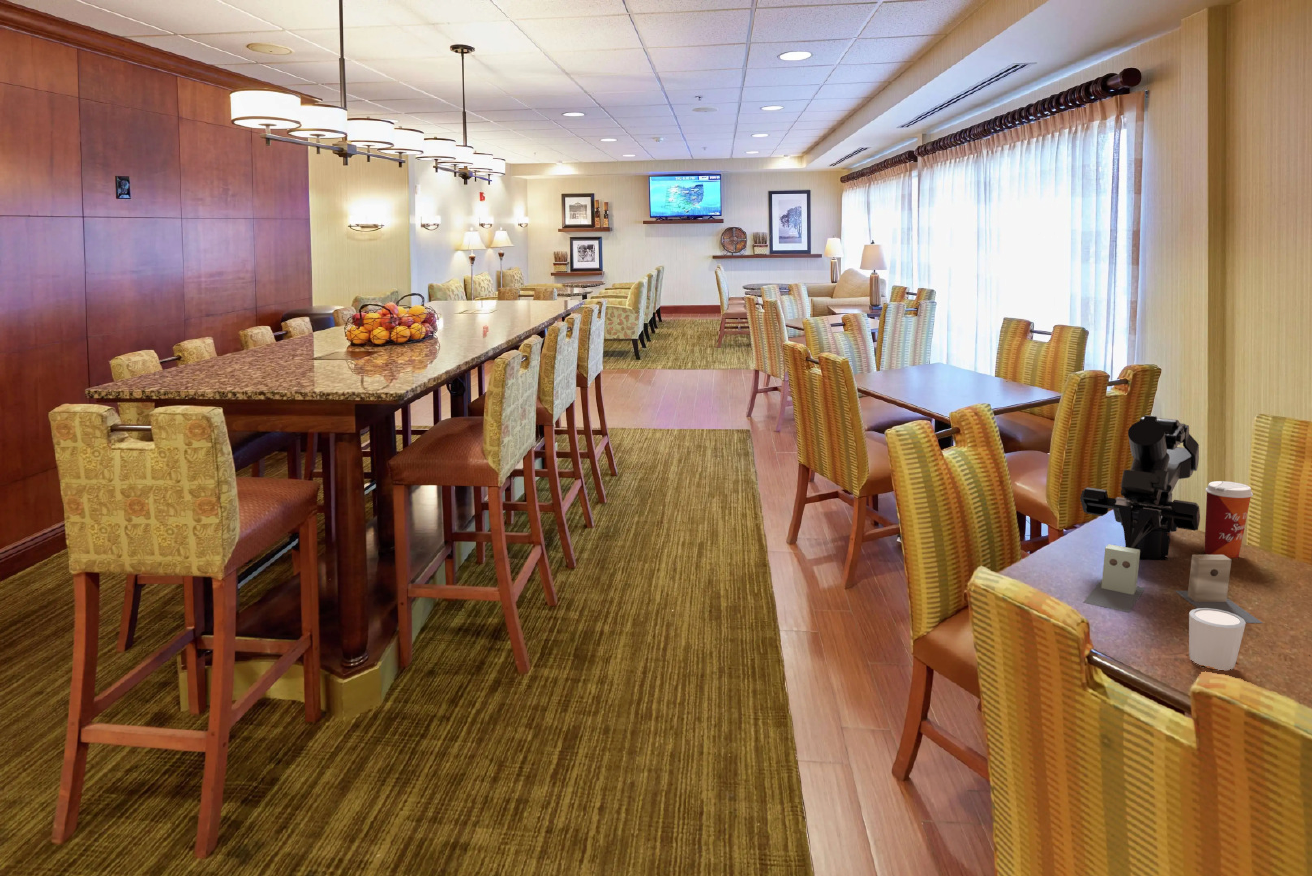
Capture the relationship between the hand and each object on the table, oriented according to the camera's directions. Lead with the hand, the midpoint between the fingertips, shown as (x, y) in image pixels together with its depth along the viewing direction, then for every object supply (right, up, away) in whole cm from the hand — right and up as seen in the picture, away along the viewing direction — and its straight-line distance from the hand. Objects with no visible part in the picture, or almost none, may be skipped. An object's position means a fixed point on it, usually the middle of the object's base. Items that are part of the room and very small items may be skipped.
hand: (1128, 548), depth 151 cm
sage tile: (-3, -7, -3) cm, 8 cm away
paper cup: (+26, -3, +14) cm, 30 cm away
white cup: (-3, -13, -28) cm, 31 cm away
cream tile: (+9, -8, -8) cm, 14 cm away
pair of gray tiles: (+1, -8, -7) cm, 11 cm away
